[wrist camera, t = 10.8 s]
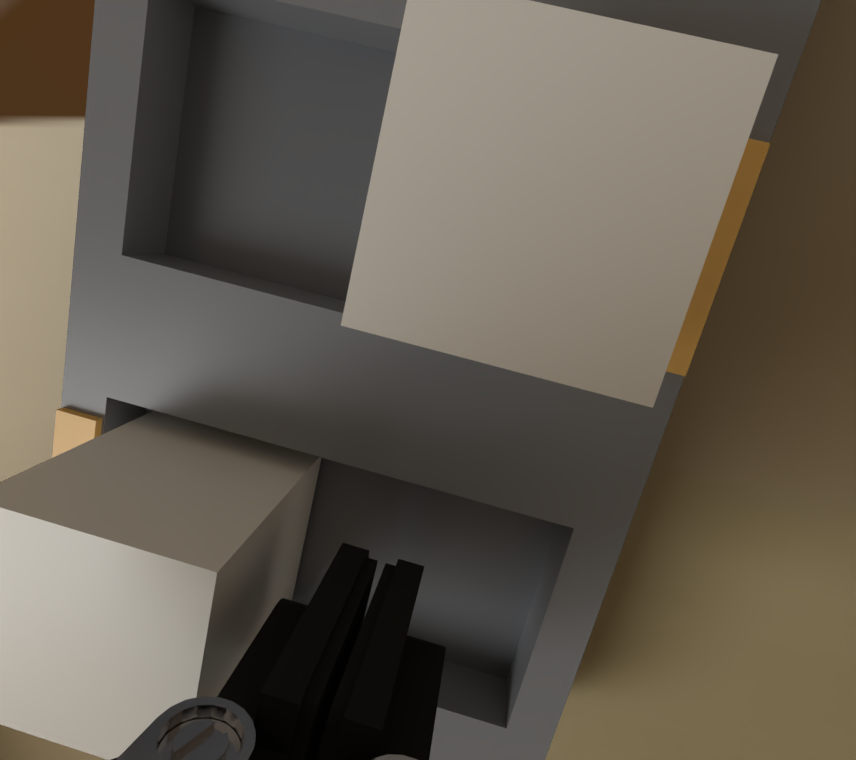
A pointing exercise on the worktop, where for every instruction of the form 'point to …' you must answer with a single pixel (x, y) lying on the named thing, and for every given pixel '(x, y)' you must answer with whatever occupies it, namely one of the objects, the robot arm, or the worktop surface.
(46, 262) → the worktop surface
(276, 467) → the tab
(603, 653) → the worktop surface
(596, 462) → the switch bank
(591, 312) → the tab
